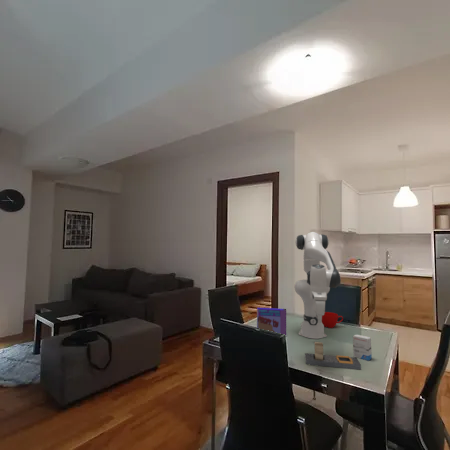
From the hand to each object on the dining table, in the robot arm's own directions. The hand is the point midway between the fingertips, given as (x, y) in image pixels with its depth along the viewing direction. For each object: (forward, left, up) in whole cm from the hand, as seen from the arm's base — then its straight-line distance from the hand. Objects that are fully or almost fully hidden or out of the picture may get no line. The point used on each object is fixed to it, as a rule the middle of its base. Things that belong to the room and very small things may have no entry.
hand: (318, 320), depth 160 cm
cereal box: (-15, -26, -22) cm, 38 cm away
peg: (0, 0, -22) cm, 22 cm away
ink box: (-13, +25, -22) cm, 36 cm away
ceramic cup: (-77, +18, -22) cm, 82 cm away
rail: (0, +6, -22) cm, 23 cm away
